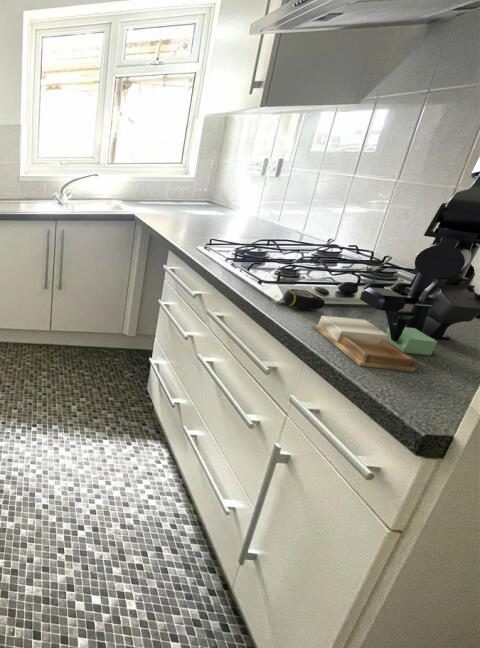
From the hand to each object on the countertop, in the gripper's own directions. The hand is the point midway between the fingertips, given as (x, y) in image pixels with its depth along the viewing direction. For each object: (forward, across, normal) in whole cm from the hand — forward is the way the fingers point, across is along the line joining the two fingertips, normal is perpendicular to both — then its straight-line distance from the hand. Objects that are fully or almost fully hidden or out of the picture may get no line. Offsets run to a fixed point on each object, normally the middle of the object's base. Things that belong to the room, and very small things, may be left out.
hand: (407, 342), depth 83 cm
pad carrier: (+1, -10, -3) cm, 10 cm away
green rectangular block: (+1, 0, 0) cm, 1 cm away
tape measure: (+1, -11, +18) cm, 21 cm away
